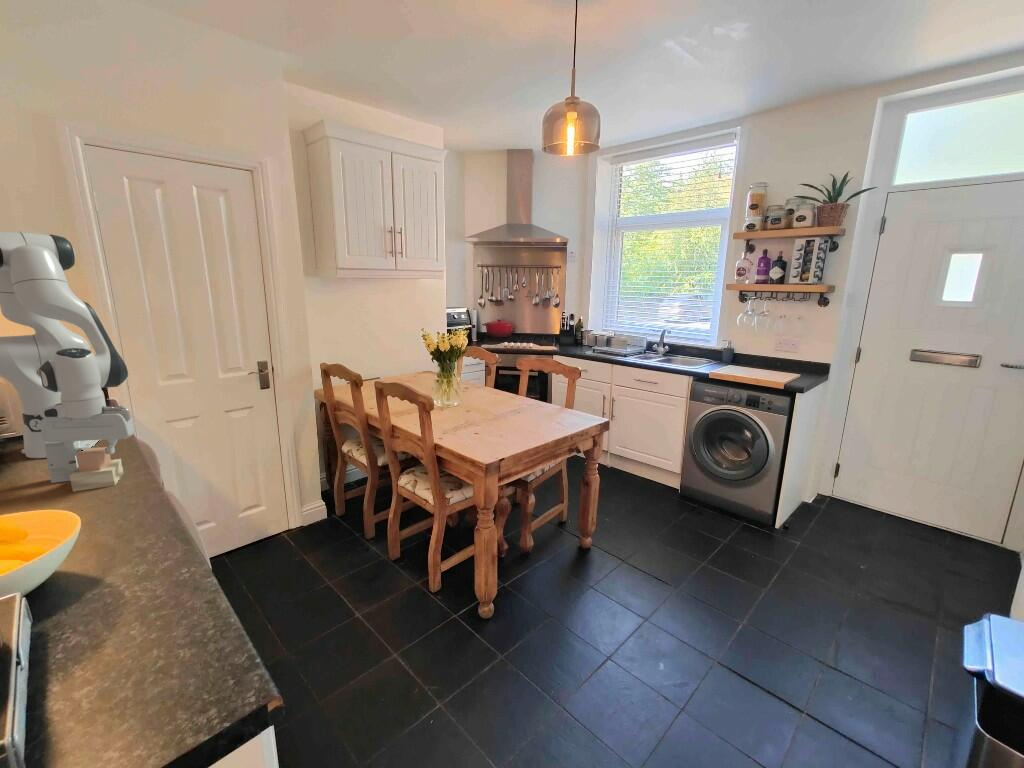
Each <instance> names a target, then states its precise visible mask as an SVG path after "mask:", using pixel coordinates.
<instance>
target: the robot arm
mask: <svg viewBox="0 0 1024 768" xmlns="http://www.w3.org/2000/svg"><path fill="white" fill-rule="evenodd" d="M75 263H76V251H75V249H74V247H73V245H72V244H71V241H69V240H68V239H67V238H66V237H64V236H59V235H55V234H49V235H48V234H44V233H36V232H27V231H17V232H16V231H0V312H1V314H2V316H3V317H4V318H5V319H7V320H8V321H11V323H12V322H13V323H15V324H19V325H22V326H26V327H29V328H32V329H33V330H34V331H35V333H34V334H26V335H15V336H14V335H11V336H10V335H9V336H0V377H1V378H3V379H5V381H7V382H9V383H10V384H11V386H12V387H13V388H14V389H15V391H16V393H17V394H18V398H19V399H20V403H21V407H22V409H23V413H22V414H21V415H22V421H23V424H24V425H25V426H24V428H23V429H22V434H23V435H22V436H23V447H24V448H22V449H21V454H24V455H25V457H26V458H29V459H45V458H46V459H47V456H46V450H45V445H44V444H45V442H46V441H47V442H61V441H64V445H65V446H66V447H67V448H68V449H69V450H71V454H72V456H76V454H78V453H80V452H82V451H81V450H85V449H87V448H91V447H92V446H93V447H94V446H96V445H97V444H98V443H99V442H100V441H103V440H104V441H106V440H107V443H108V444H109V446H106V447H107V448H105V451H106V452H105V454H110V455H113V454H115V452H116V449H115V446H116V444H117V443H118V441H119V440H124V439H125V440H126V439H129V438H130V437H132V436H133V434H134V433H135V428H134V425H133V422H132V419H131V412H130V409H127V408H126V407H124V406H119V405H118V406H107V403H106V398H105V394H104V391H103V390H102V389H105V388H118V387H119V386H121V385H122V384H123V383H124V382H126V380H127V378H128V377H129V372H128V371H129V370H128V367H127V364H126V363H125V361H124V359H123V358H122V356H121V355H120V353H119V352H118V351H117V349H116V348H115V345H114V344H113V342H112V339H111V338H110V336H109V335H108V332H107V330H106V328H105V327H104V325H103V323H102V321H101V320H100V318H99V316H98V314H97V313H96V312H95V310H94V309H93V307H92V305H90V304H89V303H88V302H86V301H84V300H81V299H80V298H79V297H78V296H76V295H75V294H74V292H73V290H71V287H70V285H69V284H70V283H69V281H68V279H67V277H66V274H65V271H68V270H69V269H71V268H73V267H74V266H75ZM61 321H62V322H65V323H68V324H71V325H74V326H76V327H77V328H80V329H81V330H82V331H83V332H84V333H85V335H86V338H87V339H88V341H89V342H90V343H89V342H88V341H87V339H86V338H84V337H83V336H82V335H80V334H78V333H75V332H74V331H71V330H70V329H68V328H67V327H66V326H65V325H64V324H62V322H61ZM90 344H91V346H90ZM91 347H92V348H91ZM91 349H93V350H94V352H95V353H96V354H95V353H94V352H93V351H92V350H91ZM38 370H39V374H38ZM99 440H100V441H99ZM75 441H77V446H78V448H77V446H76V445H75V444H74V442H75ZM98 441H99V442H98ZM97 442H98V443H97ZM96 443H97V444H96ZM95 444H96V445H95ZM93 447H92V448H93Z"/></svg>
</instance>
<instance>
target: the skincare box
mask: <svg viewBox="0 0 1024 768" xmlns="http://www.w3.org/2000/svg"><path fill="white" fill-rule="evenodd" d="M74 444H75V445H76V446H77V441H75V442H74ZM44 445H45V450H46V456H47V458H46V460H47V461H46V462H47V466H48V472H49V477H50V483H51V484H56V483H62V482H69V481H70V482H71V480H70V475H71V474H72V473H73V472H74V471H75V470H76V469H77V468H78V462H77V457H76V456H72V454H71V450H69V449H68V448H67V447H66V446H65V445H64V441H61V442H47V441H46V442H45V444H44ZM77 448H78V446H77Z"/></svg>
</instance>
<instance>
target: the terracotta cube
mask: <svg viewBox="0 0 1024 768" xmlns="http://www.w3.org/2000/svg"><path fill="white" fill-rule="evenodd" d="M107 447H108V446H102V447H92V448H87V449H85V450H83V451H82V452H80V453H78V454H76V457H77V462H78V467H79V471H92V470H101V469H103V468H104V467H106V466H108V465H109V464H111V460H112V458H111V454H105V452H106V451H105V448H107Z"/></svg>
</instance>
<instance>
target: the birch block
mask: <svg viewBox="0 0 1024 768" xmlns="http://www.w3.org/2000/svg"><path fill="white" fill-rule="evenodd" d="M123 473H124V467H123V463H122V458H117V459H111V464H109V465H108V466H106V467H104V468H103V469H101V470H92V471H79V467H78V468H77V469H76V470H75V471H74V472H73V473H72V474H71V475H70V484H71V489H72V492H79V491H81V492H82V491H88V490H93V489H100V488H101V489H102V488H107V487H115V486H116V485H117V484H118V482H119V481H118V480H120V479H121V478H122V477H123V475H124V474H123Z"/></svg>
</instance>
